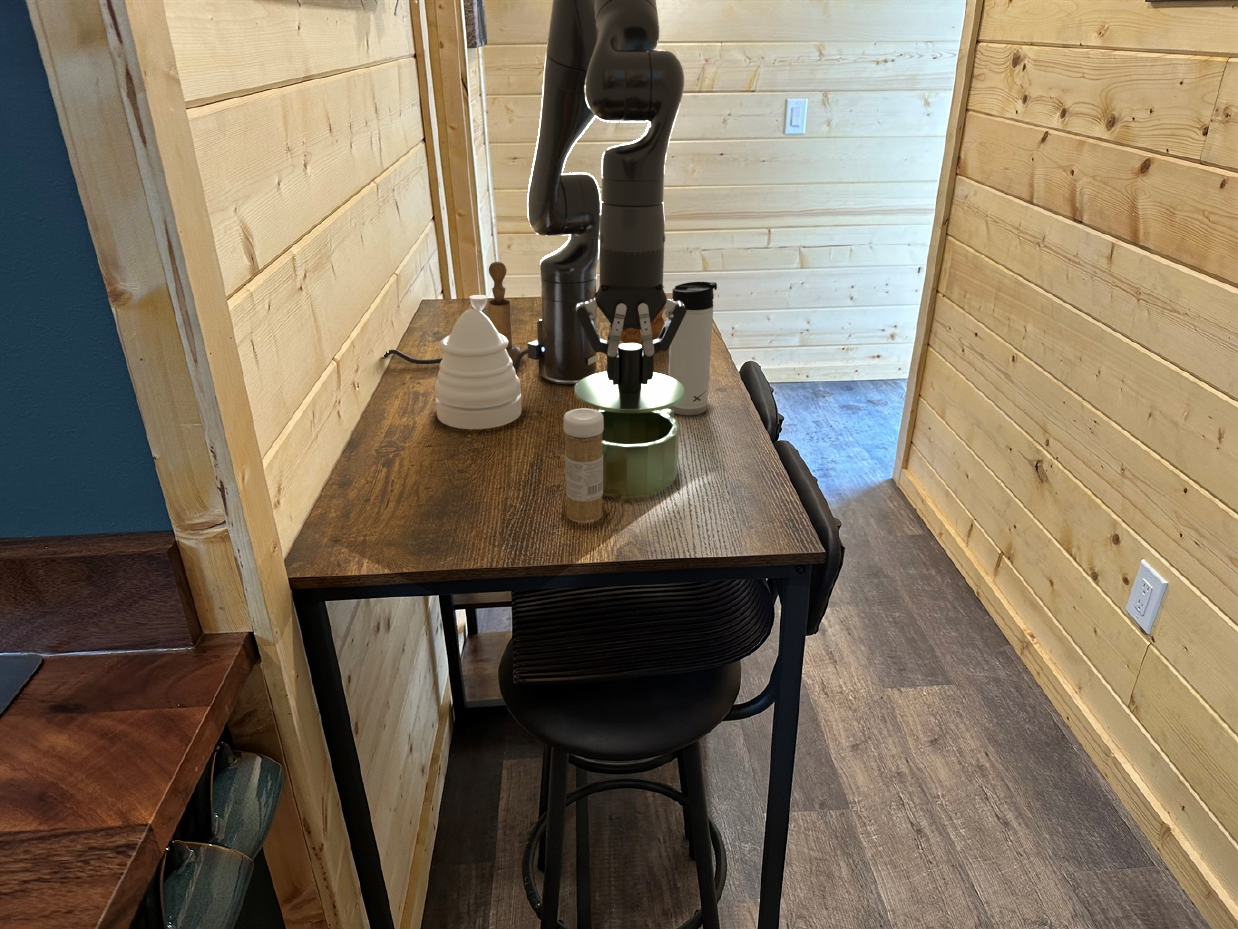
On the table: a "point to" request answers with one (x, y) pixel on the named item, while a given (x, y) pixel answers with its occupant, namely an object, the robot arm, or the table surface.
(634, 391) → the lid
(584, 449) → the sprinkles bottle
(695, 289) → the travel mug
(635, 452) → the pot
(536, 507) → the table surface
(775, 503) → the table surface
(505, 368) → the honey pot
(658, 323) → the stuffed squirrel
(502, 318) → the mortar and pestle
